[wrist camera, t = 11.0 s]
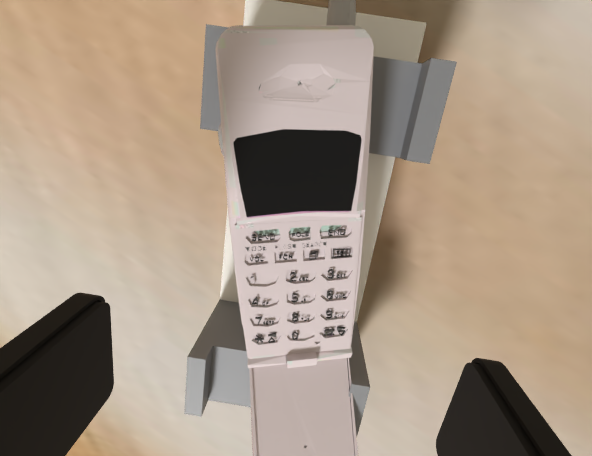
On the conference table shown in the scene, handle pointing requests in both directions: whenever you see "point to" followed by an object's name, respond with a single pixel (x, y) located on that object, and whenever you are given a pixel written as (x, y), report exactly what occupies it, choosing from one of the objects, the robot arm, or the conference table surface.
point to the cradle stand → (382, 151)
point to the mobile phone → (297, 219)
